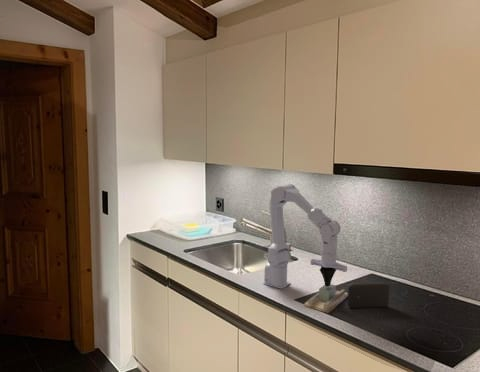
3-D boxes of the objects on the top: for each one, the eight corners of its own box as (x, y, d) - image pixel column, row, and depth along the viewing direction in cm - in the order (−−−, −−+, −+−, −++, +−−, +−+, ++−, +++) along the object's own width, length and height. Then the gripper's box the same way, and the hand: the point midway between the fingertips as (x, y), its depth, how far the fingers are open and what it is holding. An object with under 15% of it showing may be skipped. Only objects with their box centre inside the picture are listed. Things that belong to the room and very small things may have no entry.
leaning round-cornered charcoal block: (384, 302, 158) (385, 279, 156) (389, 307, 153) (391, 284, 152) (344, 304, 156) (345, 281, 155) (348, 309, 151) (349, 285, 150)
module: (318, 299, 157) (319, 288, 157) (326, 293, 163) (326, 283, 162) (328, 302, 155) (328, 291, 154) (335, 296, 161) (336, 285, 160)
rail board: (304, 306, 154) (304, 299, 153) (325, 289, 170) (325, 284, 169) (328, 313, 148) (328, 306, 147) (348, 295, 164) (348, 289, 164)
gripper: (307, 251, 157) (306, 284, 159) (342, 258, 149) (341, 293, 150) (315, 247, 163) (314, 279, 165) (349, 253, 154) (348, 287, 156)
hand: (327, 285), depth 158 cm, fingers closed
